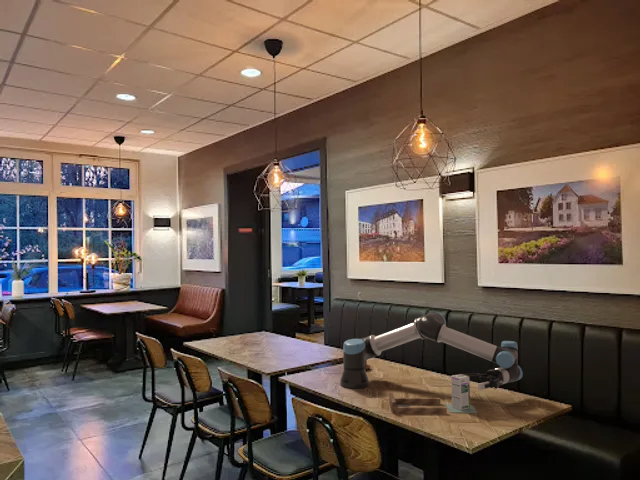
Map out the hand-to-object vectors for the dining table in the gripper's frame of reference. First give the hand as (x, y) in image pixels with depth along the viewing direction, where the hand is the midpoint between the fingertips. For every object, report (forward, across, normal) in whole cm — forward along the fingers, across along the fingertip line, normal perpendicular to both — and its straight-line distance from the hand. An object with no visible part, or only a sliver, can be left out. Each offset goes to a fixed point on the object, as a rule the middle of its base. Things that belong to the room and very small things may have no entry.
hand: (466, 383), depth 224 cm
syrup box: (+3, +1, -11) cm, 11 cm away
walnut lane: (+19, +12, -11) cm, 25 cm away
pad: (+3, +1, -11) cm, 12 cm away
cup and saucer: (-6, +86, -11) cm, 87 cm away
